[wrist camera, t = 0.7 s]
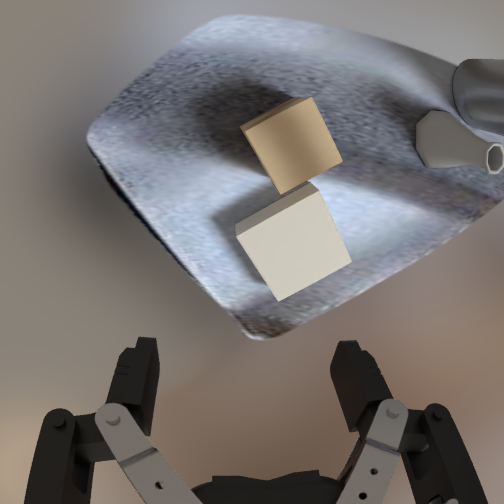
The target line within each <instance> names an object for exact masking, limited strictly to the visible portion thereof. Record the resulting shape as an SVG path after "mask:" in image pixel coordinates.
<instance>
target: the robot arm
mask: <svg viewBox="0 0 504 504" xmlns="http://www.w3.org/2000/svg"><path fill="white" fill-rule="evenodd" d="M453 95H454V100H455V104H456V107H457V109H458V112H459V113H460V115H461V117H462V118H463V119H464V121H465V122H466V123H467V124H469V125H470V126H472V127H474V128H477V129H481V130H484V131H488V132H492V133H495V134H498V135H502V136H504V60H501V59H468V60H465V61H463V62H462V63H461V64H460V65H459V66H458V68H457V69H456V72H455V74H454V79H453ZM159 372H160V362H159V355H158V348H157V341H156V338H148V337H138V340H137V343H136V347H135V348H126V349H125V350H124V351H123V352H122V353H121V355H120V356H119V359H118V362H117V367H116V369H115V372H114V373H115V374H114V376H113V379H112V382H111V386H110V389H109V393H108V397H107V400H106V403H105V405H103V406H102V407H100V408H99V409H98V410H97V412H95V413H92V414H87V415H80V416H73V414H72V413H71V412H70V411H68V410H66V409H61V408H59V409H54V410H52V411H50V412H48V414H47V415H46V416H45V418H44V420H43V423H42V427H41V430H40V434H39V438H38V441H37V446H36V449H35V453H34V457H33V462H32V466H31V470H30V474H29V479H28V484H27V489H26V494H25V500H24V504H90V499H91V489H92V480H93V472H94V465H95V462H99V461H107V460H115V459H116V460H117V462H118V464H119V465H120V467H121V468H122V470H123V472H124V473H125V475H126V476H127V478H128V479H129V481H130V482H131V484H132V485H133V487H134V488H135V489H136V491H137V492H138V494H139V495H140V497H141V498H142V499H143V501H144V502H145V504H381V503H382V501H383V498H384V495H385V493H386V491H387V488H388V486H389V483H390V480H391V478H392V475H393V473H394V470H395V467H396V464H397V462H398V458H399V455H400V454H401V457H402V460H403V463H404V466H405V469H406V472H407V476H408V479H409V482H410V485H411V489H412V492H413V496H414V499H415V502H416V504H488V502H487V499H486V496H485V494H484V491H483V488H482V486H481V483H480V481H479V478H478V476H477V473H476V471H475V468H474V466H473V463H472V461H471V459H470V456H469V454H468V452H467V450H466V447H465V445H464V443H463V440H462V438H461V436H460V434H459V432H458V429H457V427H456V425H455V423H454V421H453V419H452V417H451V415H450V412H449V411H448V410H447V408H445V407H444V406H443V405H440V404H437V403H433V404H430V405H428V406H427V407H426V409H425V410H424V411H423V410H411V409H407V407H406V406H405V405H404V404H403V403H402V402H400V401H398V400H395V399H394V398H393V396H392V394H391V392H390V390H389V388H388V386H387V384H386V382H385V380H384V378H383V376H382V375H381V371H380V369H379V368H378V365H377V363H376V361H375V359H374V358H373V357H372V356H371V355H370V354H369V353H368V352H367V351H366V350H364V351H362V350H361V348H360V346H359V344H358V342H357V341H356V340H347V341H340V342H339V343H338V345H337V348H336V351H335V354H334V356H333V360H332V362H331V366H330V374H331V378H332V381H333V384H334V387H335V390H336V393H337V395H338V399H339V402H340V405H341V408H342V410H343V414H344V417H345V419H346V423H347V425H348V429H349V432H356V431H358V432H359V434H360V437H359V438H358V440H357V442H356V444H355V446H354V448H353V451H352V452H351V454H350V456H349V458H348V460H347V462H346V464H345V466H344V468H343V470H342V471H341V473H340V475H339V476H338V478H337V479H336V480H335V479H333V478H329V477H325V476H320V474H319V470H312V471H304V472H295V473H291V474H288V475H285V476H282V477H279V478H275V479H272V480H259V479H253V478H248V477H243V476H212V482H207V483H204V484H201V485H198V486H196V487H194V488H192V489H191V490H190V489H189V488H188V486H187V485H186V484H185V483H184V482H183V481H182V479H181V478H180V477H179V476H178V475H177V473H176V472H175V471H174V470H173V469H172V467H171V466H170V464H169V463H168V462H167V461H166V460H165V458H164V457H163V455H162V454H161V453H160V452H159V451H158V450H157V449H156V448H154V447H152V445H151V443H150V442H149V441H148V439H147V438H146V436H150V434H151V426H152V419H153V412H154V406H155V399H156V393H157V386H158V380H159Z"/></svg>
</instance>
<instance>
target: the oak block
mask: <svg viewBox="0 0 504 504" xmlns="http://www.w3.org/2000/svg"><path fill="white" fill-rule="evenodd" d="M240 128H241V130H242V132H243V133H244V135H245V137H246V138H247V140H248V142H249V143H250V145H251V147H252V149H253V150H254V152H255V154H256V155H257V157H258V159H259V161H260V162H261V164H262V166H263V168H264V169H265V171H266V173H267V175H268V176H269V178H270V180H271V181H272V183H273V184H274V186H275V187H276V189H277V190H278V192H279V193H280V195H281V194H283V193H285V192H287V191H288V190H290V189H292V188H294V187H296V186H298V185H299V184H301V183H303V182H305V181H307V180H309V179H310V178H312V177H314V176H316V175H318V174H320V173H322V172H324V171H325V170H327V169H329V168H331V167H333V166H335V165H337V164H339V163H340V162H342V159H341V156H340V154H339V152H338V150H337V148H336V145H335V143H334V141H333V139H332V137H331V135H330V133H329V131H328V129H327V127H326V125H325V123H324V121H323V119H322V117H321V115H320V113H319V111H318V109H317V107H316V105H315V103H314V101H313V99H312V97H297V98H292V99H290V100H288V101H286V102H284V103H282V104H280V105H278V106H276V107H274V108H272V109H271V110H269V111H267V112H265V113H263V114H261V115H259V116H257V117H255V118H254V119H252V120H250V121H248V122H246V123H244V124H243V125H241V126H240Z"/></svg>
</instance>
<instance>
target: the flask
mask: <svg viewBox="0 0 504 504" xmlns="http://www.w3.org/2000/svg"><path fill="white" fill-rule="evenodd" d="M416 150H417V152H418V153H419V155H420V157H421V159H422V160H423V162H424V164H425V166H426V168H445V167H452V166H459V165H475V166H479V167H482V168H484V169H486V172H487V173H488V174H498V173H499V172H500V171H501V170H502V168H503V167H504V149H503V146H502V144H501V143H497V142H487V141H485V140H483V139H482V138H480V137H478V136H476V135H475V134H474V133H473V132H472V131H471V130H469V129H468V128H467V127H466V126H465V125H463V124H462V123H461V122H460V121H459V120H458V119H457V118H456V117H455V116H453V115H452V114H451V113H450V112H444V111H433V110H431V111H430V112H429V113H428V114H427V115H425V116H424V117H423V118H422V119H421V120H420V121H419V122H418V123H417V124H416Z"/></svg>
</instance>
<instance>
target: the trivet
mask: <svg viewBox="0 0 504 504" xmlns="http://www.w3.org/2000/svg"><path fill="white" fill-rule="evenodd" d="M234 227H235V233H236V237H237V239H238V240H239V242H240V244H241V245H242V247H243V248H244V250H245V251H246V253H247V254H248V256H249V257H250V259H251V260H252V262H253V263H254V265H255V267H256V268H257V270H258V271H259V273H260V274H261V276H262V277H263V279H264V280H265V282H266V283H267V285H268V286H269V288H270V289H271V291H272V293H273V294H274V296H275V297H276V299H277V300H278V301H280V300H282V299H284V298H286V297H288V296H290V295H292V294H294V293H296V292H298V291H299V290H301V289H303V288H305V287H307V286H309V285H311V284H313V283H314V282H316V281H318V280H320V279H322V278H324V277H325V276H327V275H329V274H331V273H333V272H335V271H336V270H338V269H340V268H342V267H344V266H345V265H347V264H349V263H351V262H352V261H351V259H350V256H349V254H348V252H347V249H346V247H345V245H344V243H343V240H342V238H341V236H340V234H339V231H338V229H337V227H336V225H335V223H334V220H333V218H332V216H331V214H330V212H329V210H328V208H327V205H326V203H325V201H324V199H323V197H322V195H321V193H320V191H319V190H318V189H317V188H316V187H315V186H314V185H313V184H312V183H311V182H310V183H309V184H307V185H305V186H303V187H301V188H299V189H298V190H296V191H294V192H292V193H290V194H288V195H287V196H285V197H283V198H281V199H279V200H278V201H276V202H274V203H272V204H270V205H269V206H267V207H265V208H263V209H261V210H260V211H258V212H256V213H254V214H252V215H251V216H249V217H247V218H245V219H244V220H242V221H240V222H238V223H237V224H235V225H234Z"/></svg>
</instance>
